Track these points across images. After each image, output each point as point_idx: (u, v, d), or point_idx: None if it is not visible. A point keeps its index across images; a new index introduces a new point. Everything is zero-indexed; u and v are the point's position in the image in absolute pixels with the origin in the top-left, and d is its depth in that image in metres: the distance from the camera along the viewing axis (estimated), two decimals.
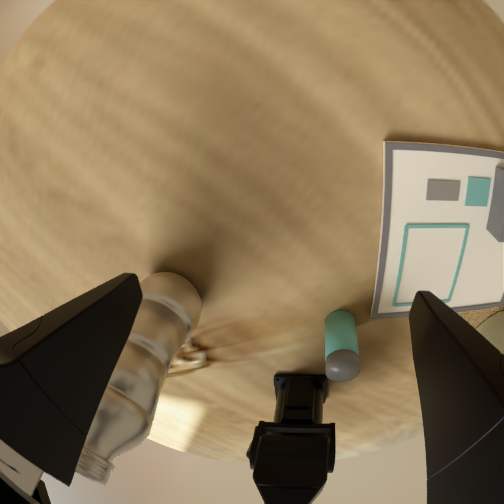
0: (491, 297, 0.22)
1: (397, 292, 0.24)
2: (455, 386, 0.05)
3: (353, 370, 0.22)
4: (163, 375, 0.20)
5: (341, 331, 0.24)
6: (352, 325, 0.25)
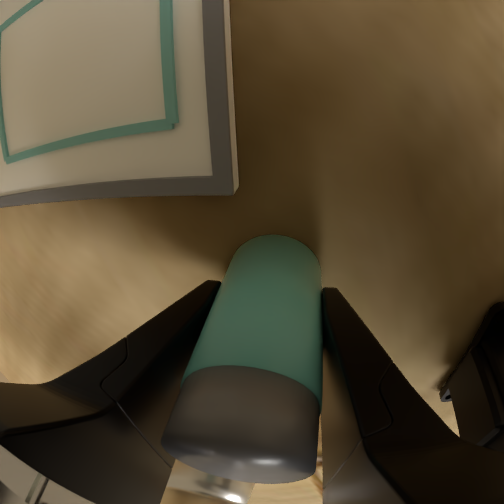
0: None
1: (122, 129, 0.07)
2: (334, 393, 0.05)
3: (214, 447, 0.04)
4: None
5: None
6: (225, 280, 0.08)
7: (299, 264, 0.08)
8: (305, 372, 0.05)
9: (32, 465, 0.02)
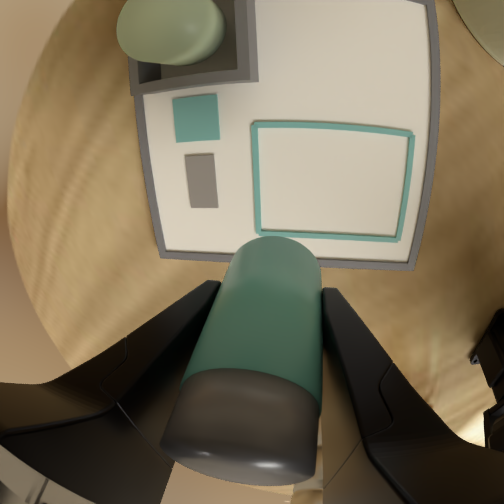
0: (416, 27, 0.09)
1: (373, 238, 0.15)
2: (334, 393, 0.05)
3: (213, 450, 0.04)
4: None
5: None
6: (225, 281, 0.08)
7: (299, 266, 0.08)
8: (305, 374, 0.05)
9: (32, 465, 0.02)
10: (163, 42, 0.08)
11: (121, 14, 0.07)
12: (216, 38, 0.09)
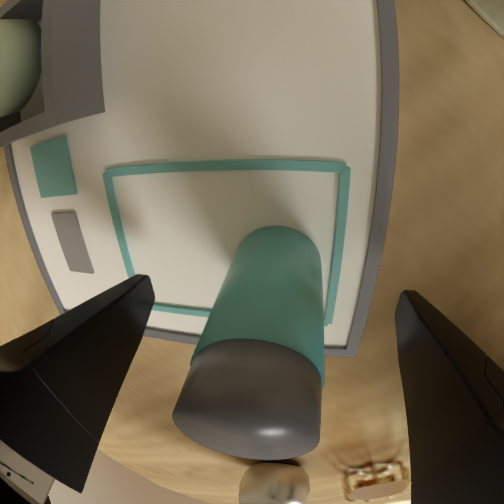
0: None
1: None
2: (438, 388, 0.05)
3: (225, 414, 0.04)
4: None
5: None
6: (231, 267, 0.08)
7: (301, 252, 0.08)
8: (308, 345, 0.06)
9: None
10: None
11: None
12: (17, 76, 0.05)
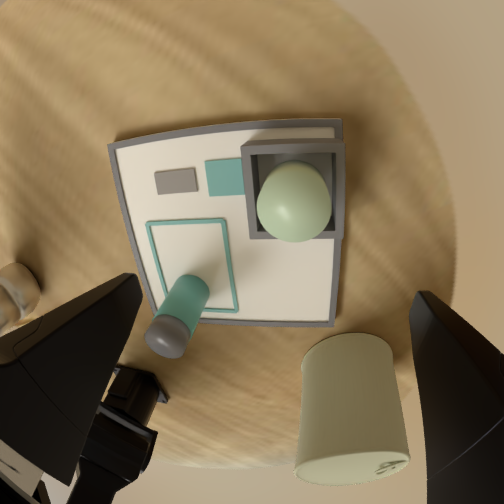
0: (309, 314, 0.23)
1: (166, 294, 0.24)
2: (455, 386, 0.05)
3: (174, 342, 0.18)
4: None
5: (174, 295, 0.20)
6: (193, 291, 0.21)
7: None
8: (189, 339, 0.20)
9: None
10: (271, 213, 0.14)
11: (309, 175, 0.13)
12: None
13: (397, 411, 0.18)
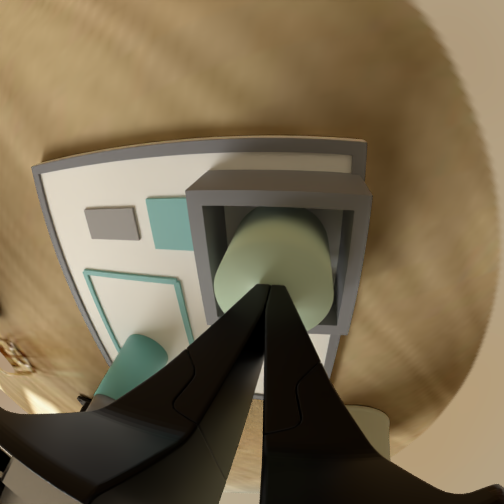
0: None
1: (118, 349, 0.18)
2: None
3: None
4: None
5: (119, 367, 0.14)
6: (144, 361, 0.15)
7: None
8: None
9: None
10: (237, 298, 0.09)
11: (301, 246, 0.08)
12: None
13: None
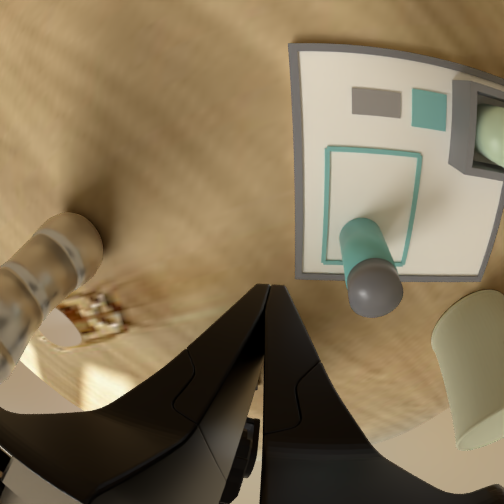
0: (465, 268, 0.18)
1: (325, 243, 0.20)
2: None
3: (393, 292, 0.14)
4: (34, 312, 0.15)
5: (368, 238, 0.16)
6: (381, 235, 0.17)
7: None
8: None
9: None
10: (498, 139, 0.11)
11: None
12: (482, 154, 0.13)
13: None
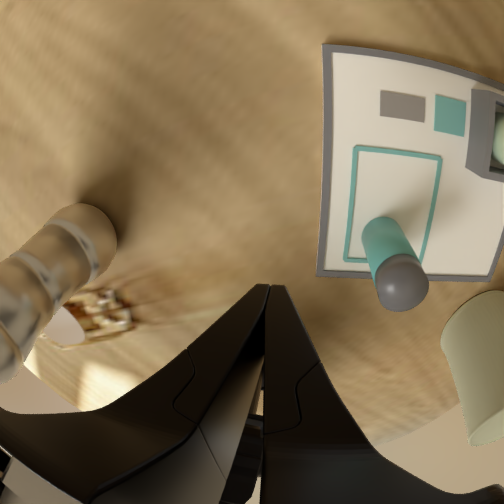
0: (476, 268, 0.19)
1: (347, 241, 0.20)
2: None
3: (420, 287, 0.14)
4: (46, 305, 0.15)
5: (393, 235, 0.16)
6: (403, 233, 0.17)
7: None
8: None
9: None
10: None
11: None
12: (496, 159, 0.13)
13: None
